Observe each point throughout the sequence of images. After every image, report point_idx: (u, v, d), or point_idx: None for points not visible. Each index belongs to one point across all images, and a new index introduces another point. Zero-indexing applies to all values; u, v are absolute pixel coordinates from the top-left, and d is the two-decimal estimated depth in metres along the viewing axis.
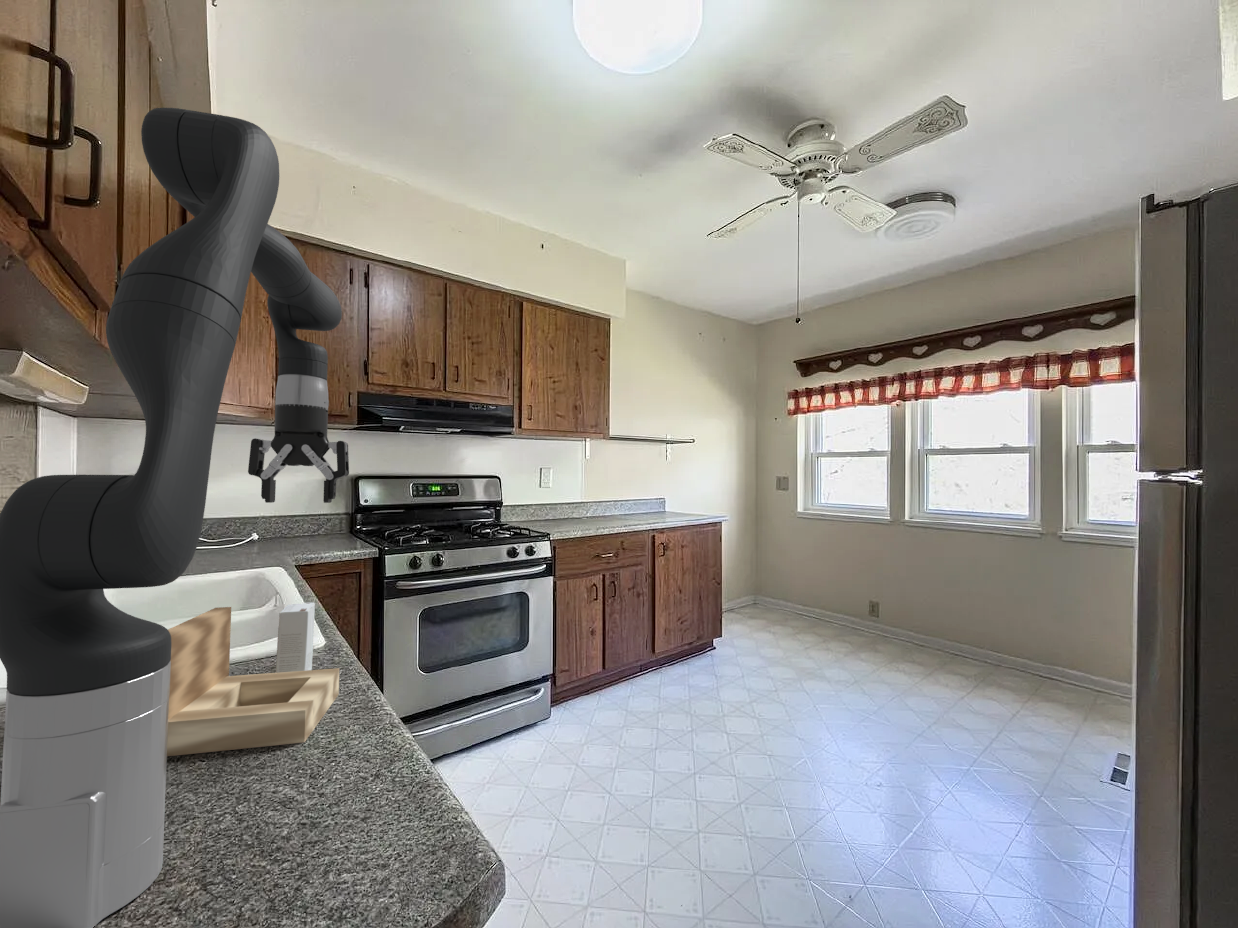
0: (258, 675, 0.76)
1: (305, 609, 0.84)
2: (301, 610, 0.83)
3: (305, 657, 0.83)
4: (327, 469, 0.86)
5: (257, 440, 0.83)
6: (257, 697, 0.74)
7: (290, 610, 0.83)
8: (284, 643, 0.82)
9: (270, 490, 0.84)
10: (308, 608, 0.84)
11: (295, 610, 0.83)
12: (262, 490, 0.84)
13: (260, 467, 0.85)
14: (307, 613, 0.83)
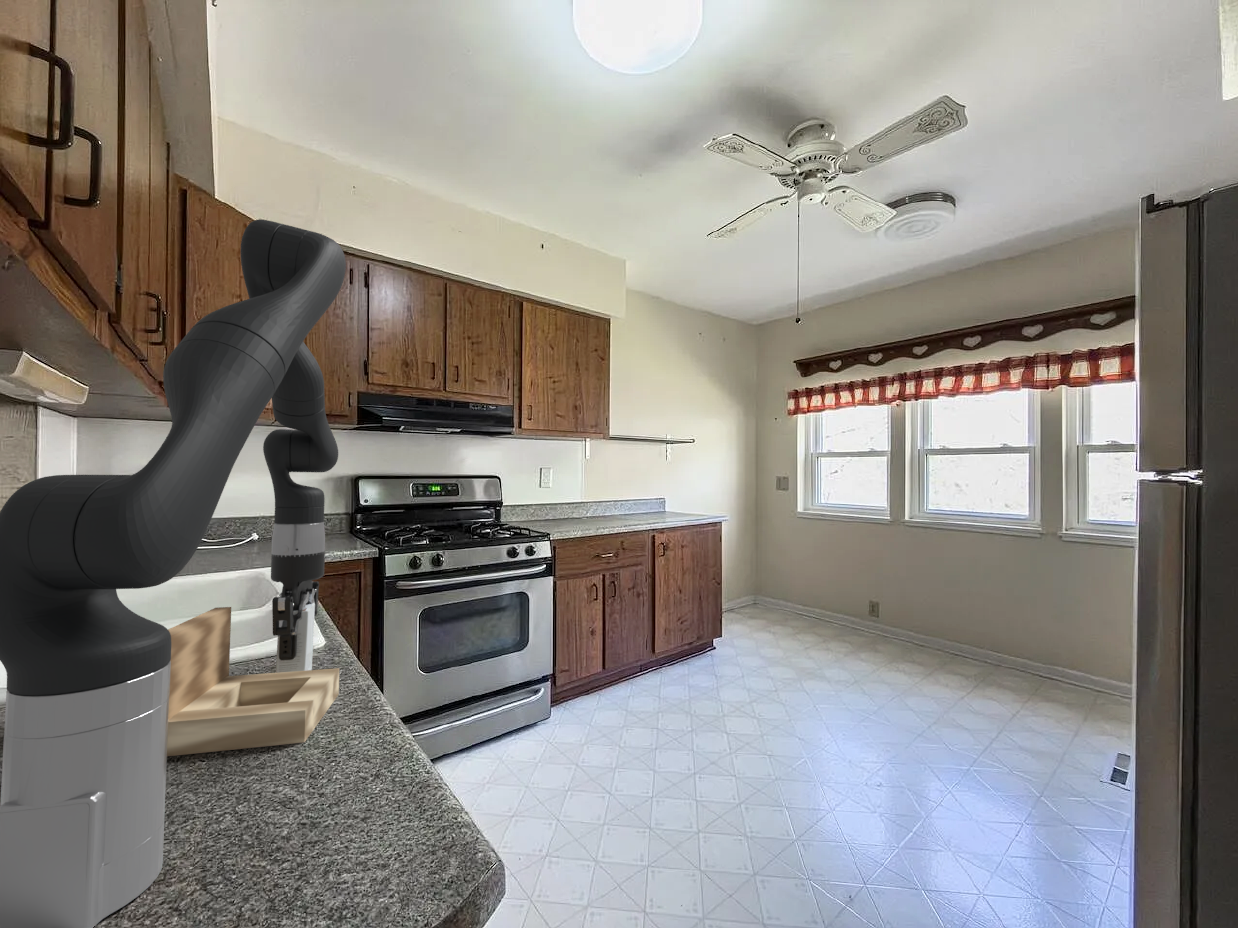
0: (258, 675, 0.76)
1: (305, 609, 0.83)
2: None
3: (305, 657, 0.83)
4: None
5: (292, 598, 0.80)
6: (257, 697, 0.74)
7: None
8: None
9: None
10: (308, 608, 0.84)
11: None
12: (290, 648, 0.81)
13: (279, 625, 0.80)
14: (307, 613, 0.83)
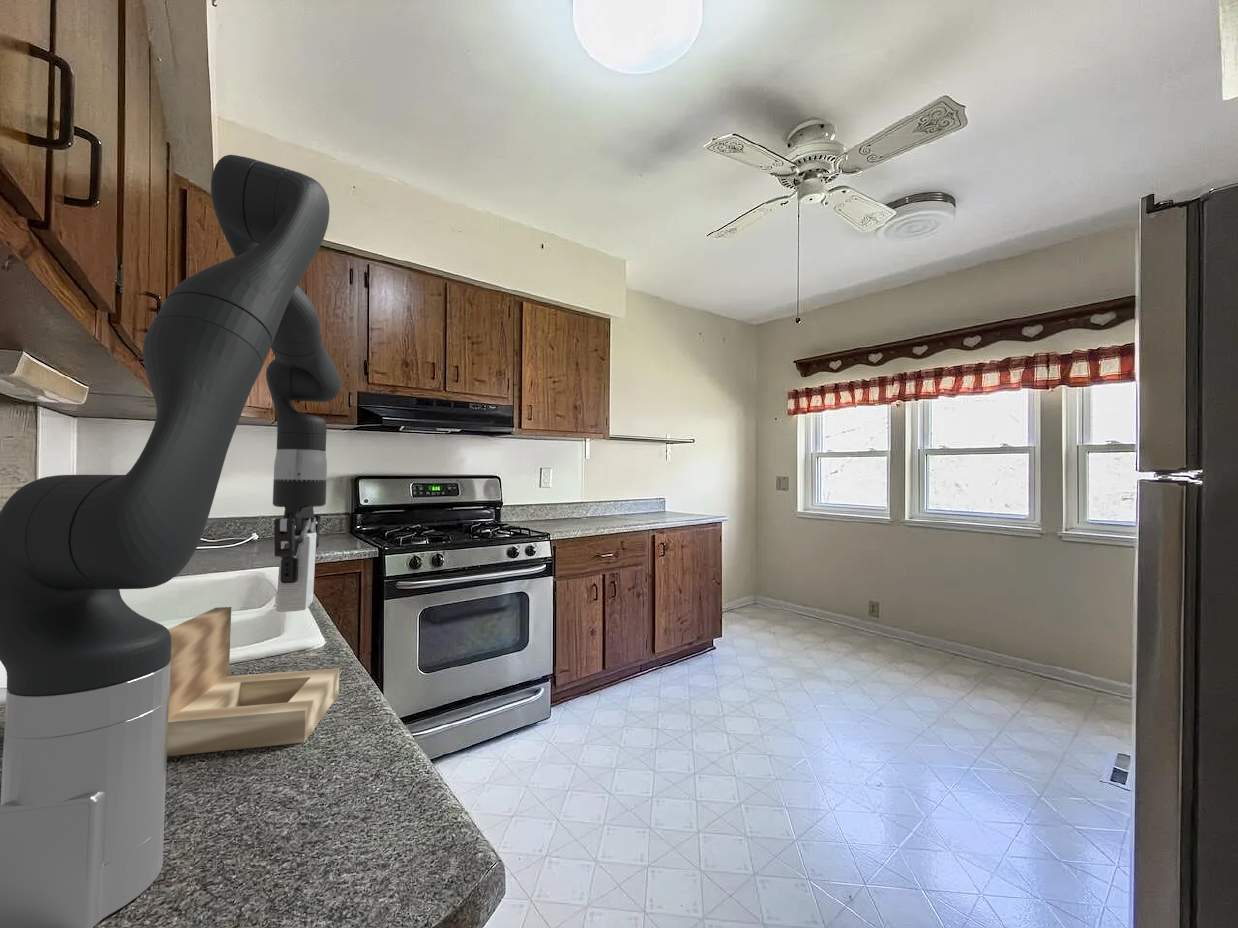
0: (258, 675, 0.76)
1: (307, 535, 0.84)
2: None
3: (306, 582, 0.83)
4: None
5: (294, 519, 0.80)
6: (257, 697, 0.74)
7: None
8: None
9: None
10: (310, 535, 0.85)
11: None
12: (292, 571, 0.81)
13: (280, 547, 0.80)
14: (309, 538, 0.83)
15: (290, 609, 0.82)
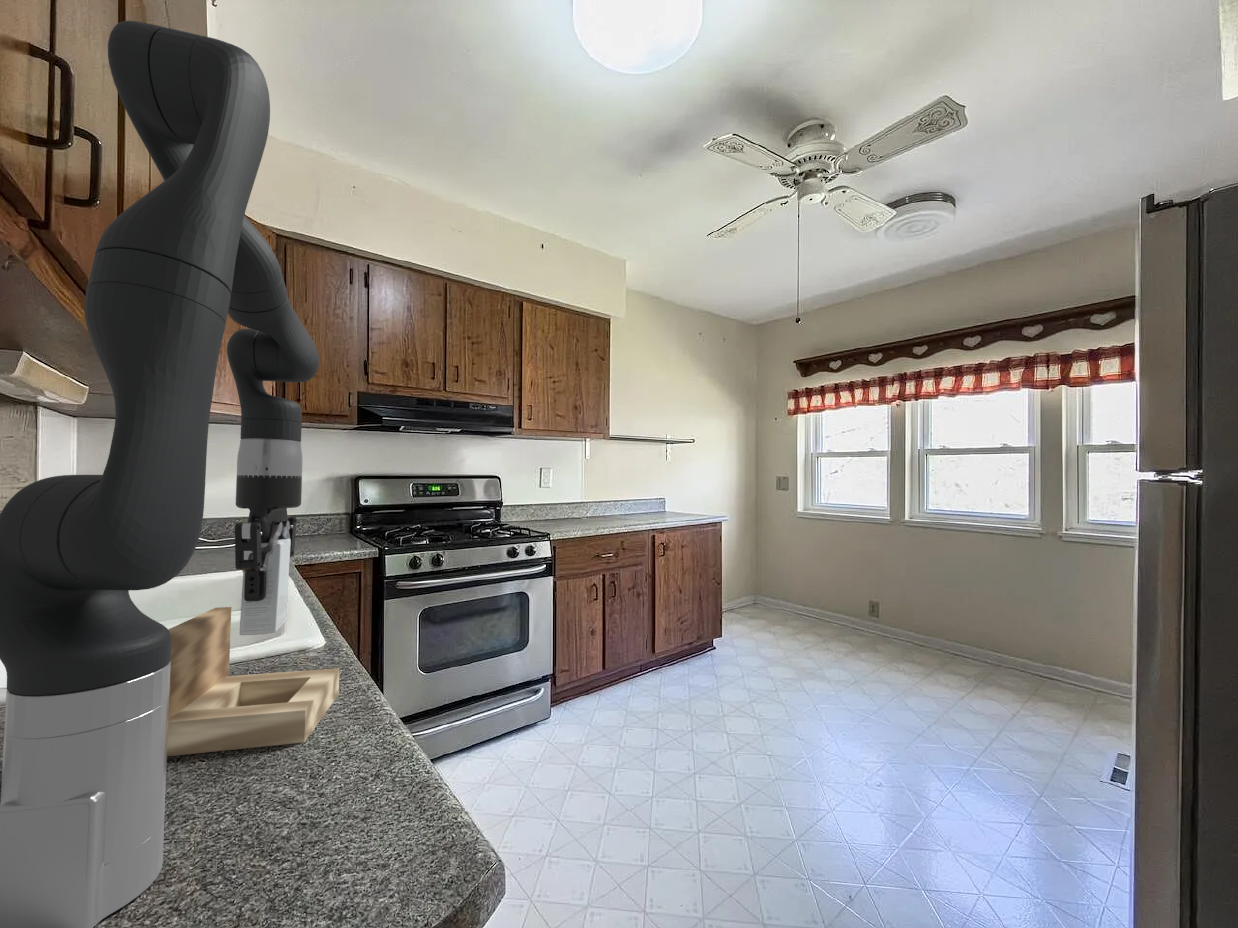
0: (258, 675, 0.76)
1: (277, 542, 0.70)
2: None
3: (277, 599, 0.69)
4: None
5: (259, 524, 0.66)
6: (257, 697, 0.74)
7: None
8: None
9: None
10: (281, 542, 0.70)
11: None
12: (258, 586, 0.67)
13: (243, 558, 0.66)
14: (279, 546, 0.69)
15: (257, 632, 0.68)
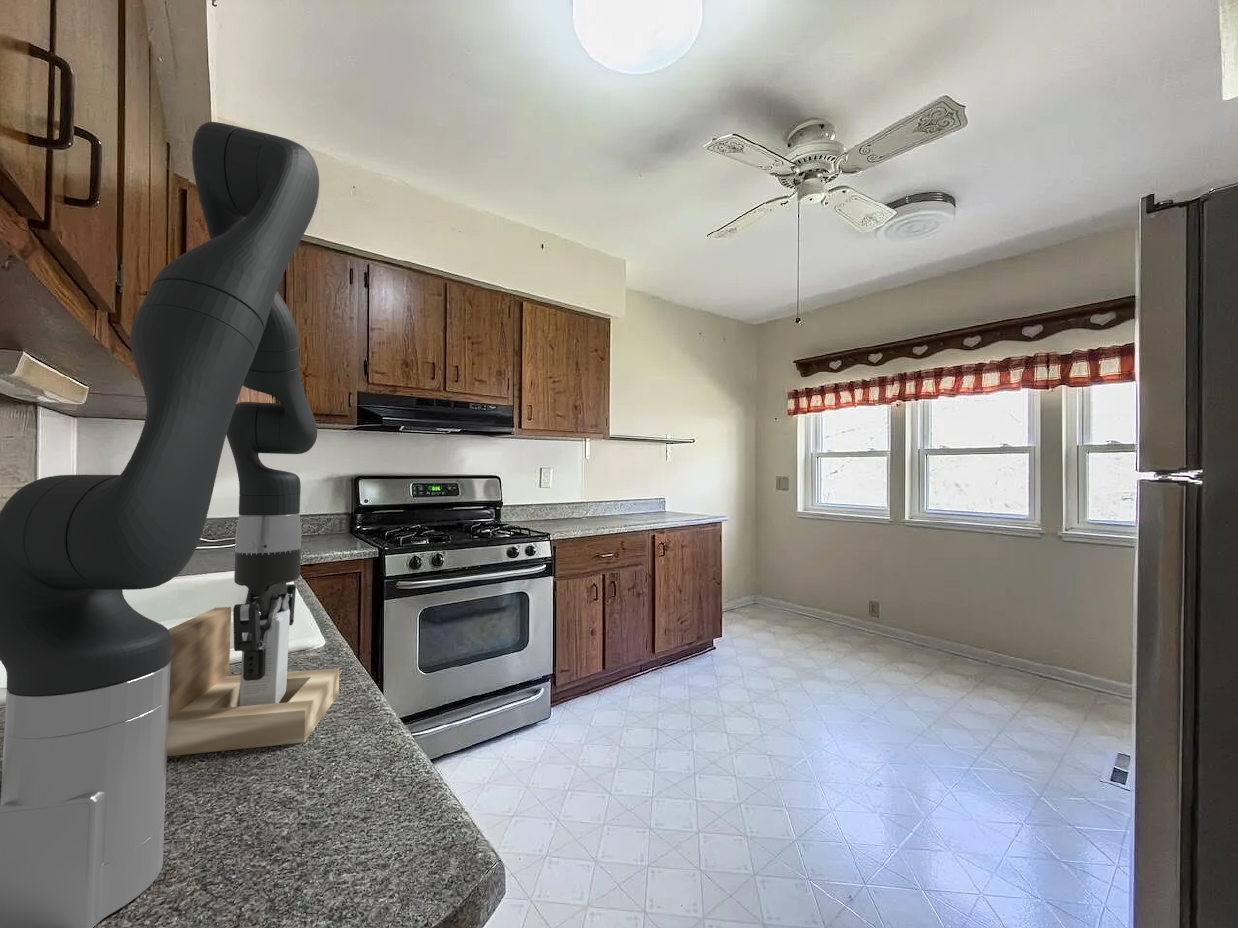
0: None
1: (276, 618, 0.69)
2: None
3: (276, 676, 0.69)
4: None
5: (258, 605, 0.65)
6: None
7: None
8: None
9: None
10: (280, 616, 0.70)
11: None
12: (257, 665, 0.66)
13: (242, 639, 0.65)
14: (278, 623, 0.69)
15: None
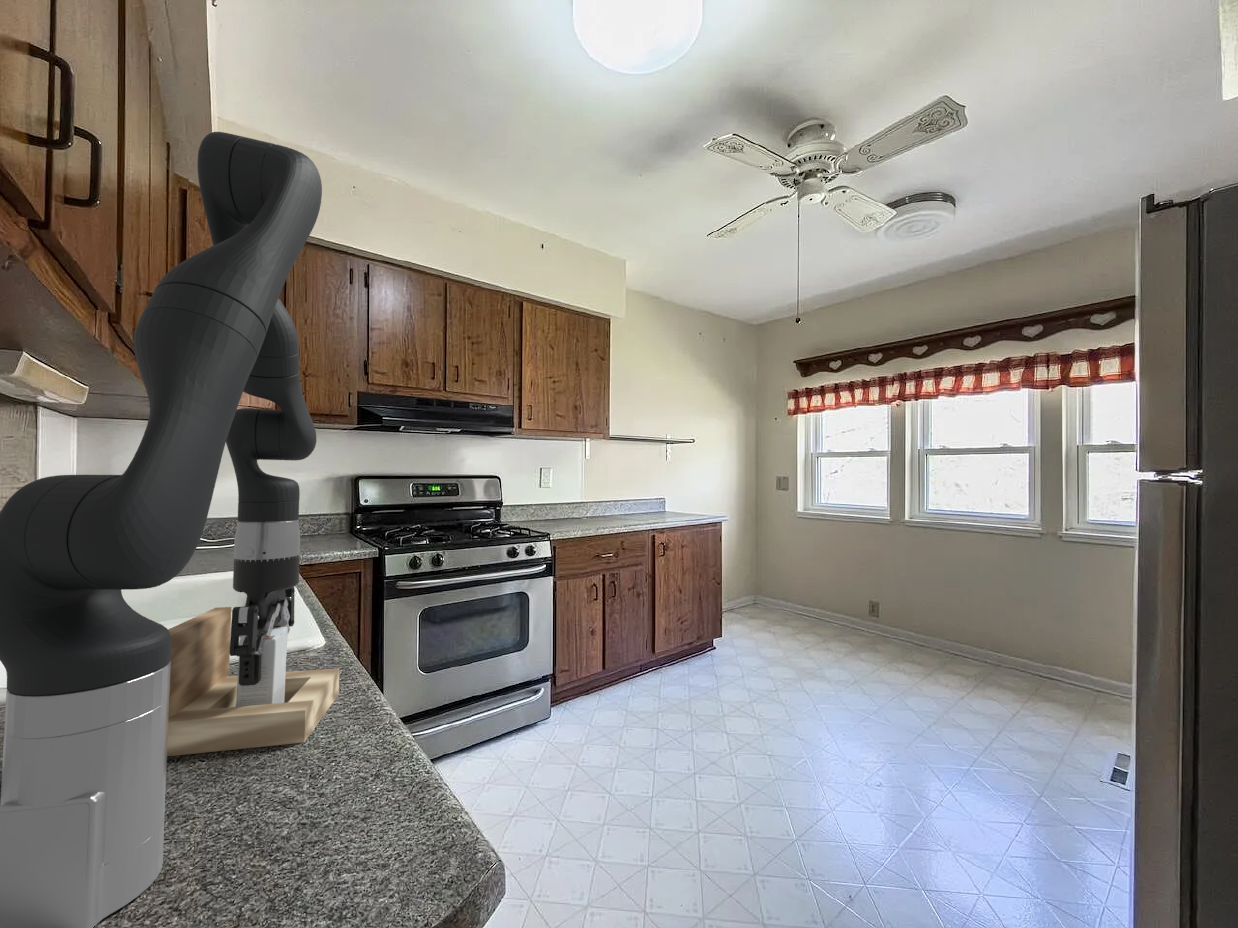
0: None
1: (272, 637, 0.69)
2: (267, 638, 0.68)
3: (272, 695, 0.68)
4: None
5: (257, 608, 0.65)
6: None
7: None
8: None
9: None
10: (277, 635, 0.69)
11: None
12: (253, 670, 0.66)
13: (238, 643, 0.65)
14: (274, 642, 0.68)
15: None
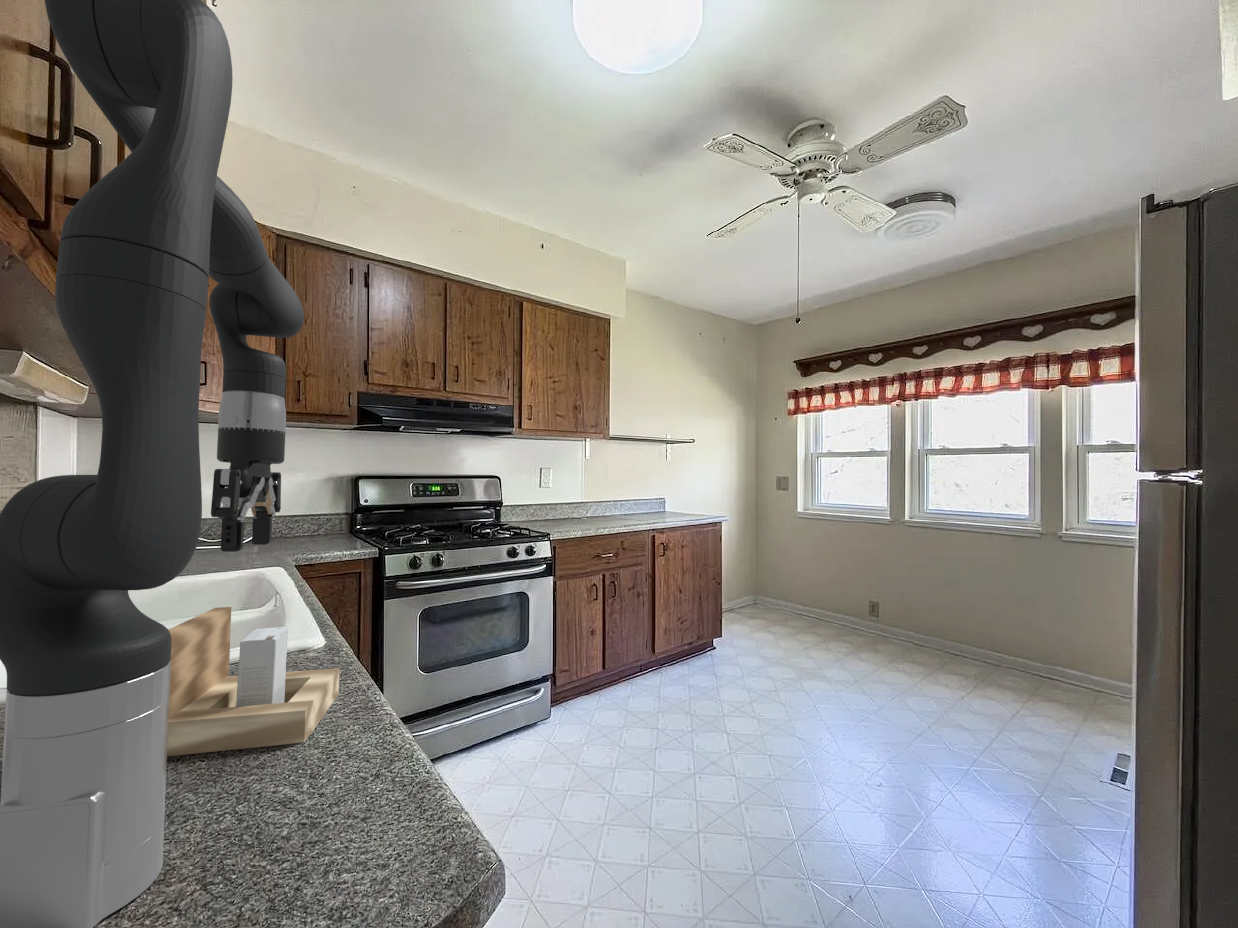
0: None
1: (272, 637, 0.69)
2: (267, 638, 0.68)
3: (272, 695, 0.68)
4: (272, 505, 0.74)
5: (240, 471, 0.65)
6: None
7: (254, 638, 0.68)
8: (246, 679, 0.67)
9: None
10: (277, 635, 0.69)
11: (260, 638, 0.68)
12: (235, 536, 0.65)
13: (220, 506, 0.64)
14: (274, 642, 0.68)
15: None
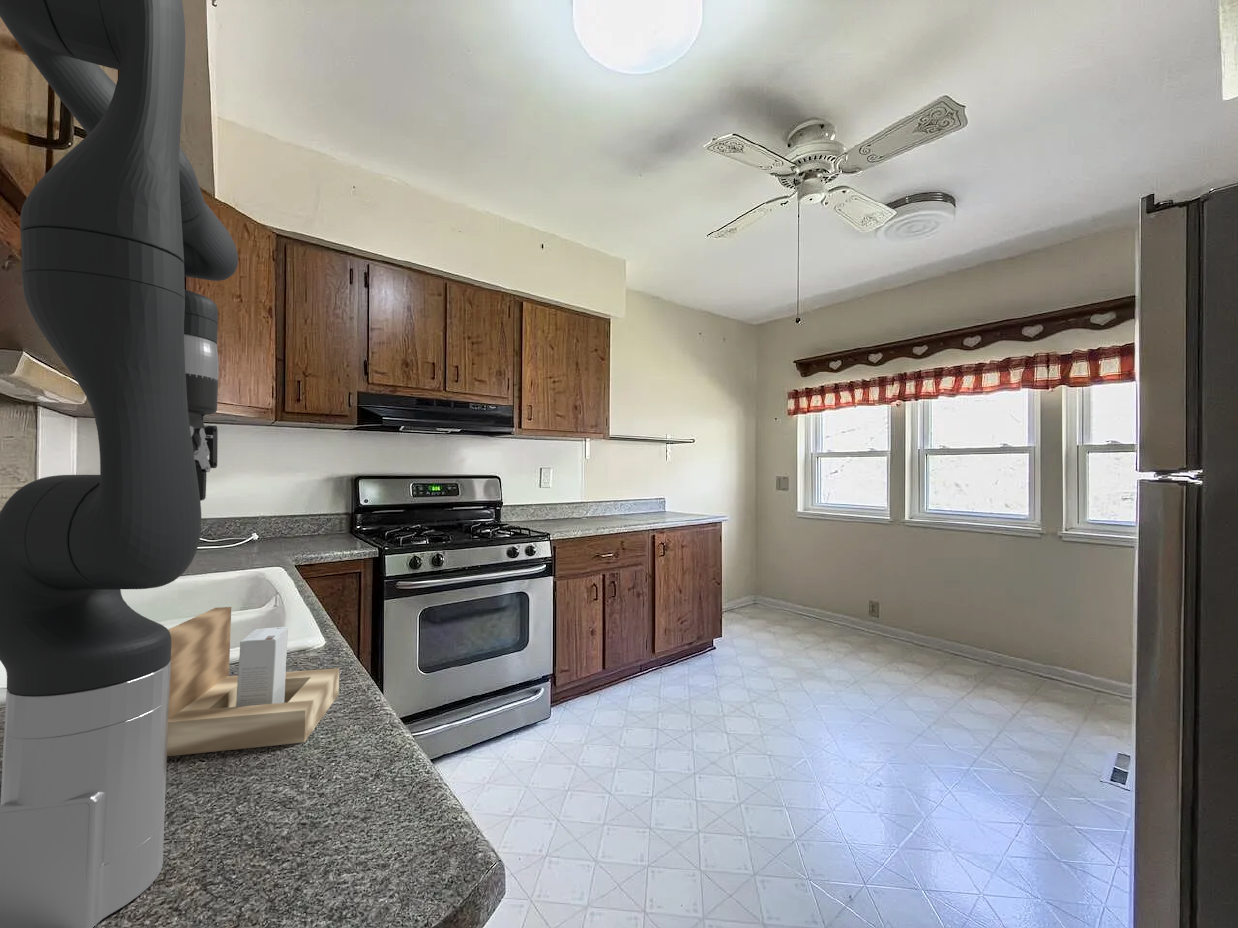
0: None
1: (272, 637, 0.69)
2: (267, 638, 0.68)
3: (272, 695, 0.68)
4: (206, 459, 0.70)
5: None
6: None
7: (254, 638, 0.68)
8: (246, 679, 0.67)
9: None
10: (277, 635, 0.69)
11: (260, 638, 0.68)
12: None
13: None
14: (274, 642, 0.68)
15: None
